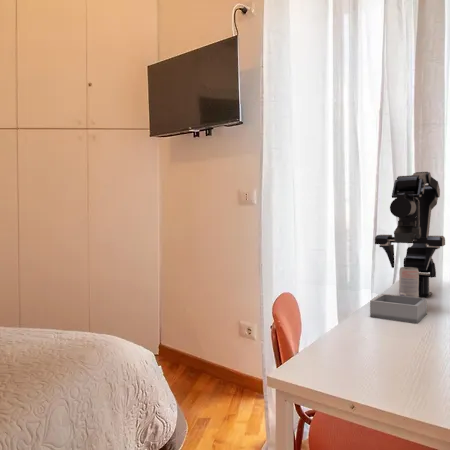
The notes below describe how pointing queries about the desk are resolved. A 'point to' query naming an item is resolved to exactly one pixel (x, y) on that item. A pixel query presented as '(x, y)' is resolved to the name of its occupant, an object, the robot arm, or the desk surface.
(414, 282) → the energy drink
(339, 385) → the desk surface
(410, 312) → the crate
